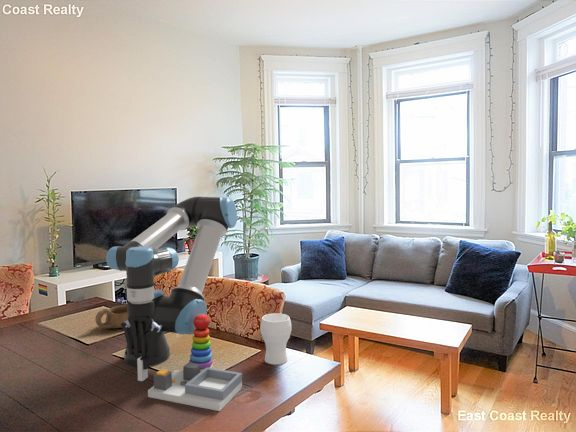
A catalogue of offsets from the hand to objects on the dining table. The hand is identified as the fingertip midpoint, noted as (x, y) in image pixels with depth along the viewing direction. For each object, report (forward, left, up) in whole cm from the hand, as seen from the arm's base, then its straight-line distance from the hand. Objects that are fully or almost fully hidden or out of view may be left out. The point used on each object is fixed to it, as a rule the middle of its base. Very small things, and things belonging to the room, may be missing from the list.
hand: (142, 378), depth 129 cm
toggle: (+12, +8, -1) cm, 14 cm away
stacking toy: (+9, +17, -4) cm, 20 cm away
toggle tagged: (+7, 0, -1) cm, 7 cm away
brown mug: (-45, +42, -4) cm, 61 cm away
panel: (+15, +4, -3) cm, 16 cm away
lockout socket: (+21, +5, -1) cm, 22 cm away
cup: (+29, +33, -4) cm, 44 cm away
